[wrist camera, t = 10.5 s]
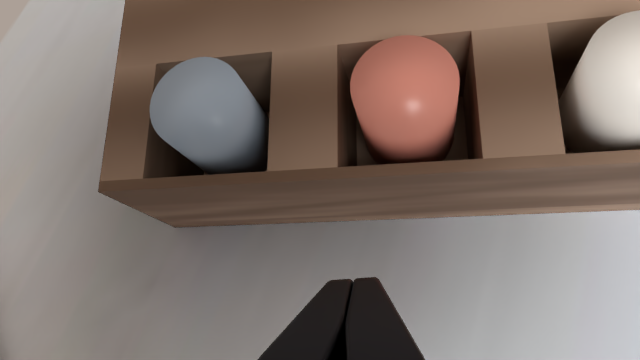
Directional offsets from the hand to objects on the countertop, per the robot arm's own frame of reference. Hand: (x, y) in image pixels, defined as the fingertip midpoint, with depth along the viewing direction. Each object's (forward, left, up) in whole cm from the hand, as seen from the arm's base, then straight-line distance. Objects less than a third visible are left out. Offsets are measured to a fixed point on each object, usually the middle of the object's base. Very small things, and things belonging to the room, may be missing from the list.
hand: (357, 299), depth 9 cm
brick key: (+7, -1, -10) cm, 12 cm away
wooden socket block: (+9, -1, -13) cm, 16 cm away
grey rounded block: (+7, +6, -10) cm, 14 cm away
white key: (+7, -8, -10) cm, 15 cm away
